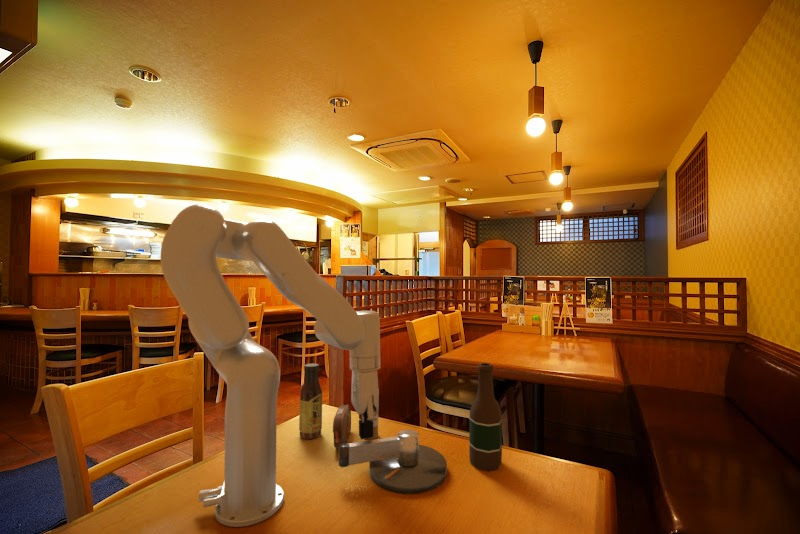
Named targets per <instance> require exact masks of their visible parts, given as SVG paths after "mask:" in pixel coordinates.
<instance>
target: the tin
mask: <svg viewBox="0 0 800 534" xmlns="http://www.w3.org/2000/svg"><path fill="white" fill-rule="evenodd" d="M351 430H352V411H351V406H350V404H342V405H339V407H338V408H337V411H336V413H335V415H334V417H333V422H332V433H333V445H334V446H333V447H334V448H335V449H339V445H340V444H343V443H347V444H348V442H349V438H350V436H351Z"/></svg>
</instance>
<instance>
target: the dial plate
mask: <svg viewBox="0 0 800 534" xmlns="http://www.w3.org/2000/svg"><path fill="white" fill-rule="evenodd" d="M447 463H448V462H447V460H446V458H445V457H444V455H443V454H442V453H440V451H438V450H436V449H434V448H432V447H429V446H427V445H424V444H423V445H422V444H419V462H418V463H417V464H415V465H413V466H404V465H401V464H399V463H398V461H397V457H395V458H389V459H383V460H377V461H371V462H369V467H368V468H369V471H368V472H369V476H370V479H371V481H372V482H373V483H374V484H375V485H376V486H378V487H379V488H381V489H383V490H385V491H387V492H391V493H395V494H399V495H418V494H423V493H428V492H430V491H433V490H435V489H437V488H438V487H440V486H441V485H442V484H443V483H444V482H445V480H446V478H447V472H448V471H447V468H448V467H447Z"/></svg>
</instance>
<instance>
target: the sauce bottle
mask: <svg viewBox="0 0 800 534" xmlns="http://www.w3.org/2000/svg"><path fill="white" fill-rule="evenodd" d="M303 369H304V383H303V384H302V385H301V387H300V391H299V395H300V396H299V397H300V398H299V419H298V421H299V422H298V427H299V430H298V431H299V437H300V438H301V439H303V440H312V439H316V438H319V437H320V436H321V434H322V429H323V390H322V386H321V384H320V381H319V370H320V365H319V364H318V363H306V364H305V365H304V368H303Z"/></svg>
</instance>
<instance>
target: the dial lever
mask: <svg viewBox="0 0 800 534" xmlns="http://www.w3.org/2000/svg"><path fill="white" fill-rule="evenodd" d="M419 442H420V433H419V432H418V431H415V430H413V429H402V430H400V431H398V432H397V436H396V435H395V436H389V437H382V438H374V439H368V440H365V441H355V442H351V443H348V442H347V443H343V444H340V445H339V448H338V466H339V467H340V468H347V467H349V466H353V465H360V464H365V463H370V462H371V461H377V460H383V459H389V458H395V457H397V461H398V463H399V464H401V465H404V466H413V465H415V464H417V463H418V462H419V445H420V443H419Z"/></svg>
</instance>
